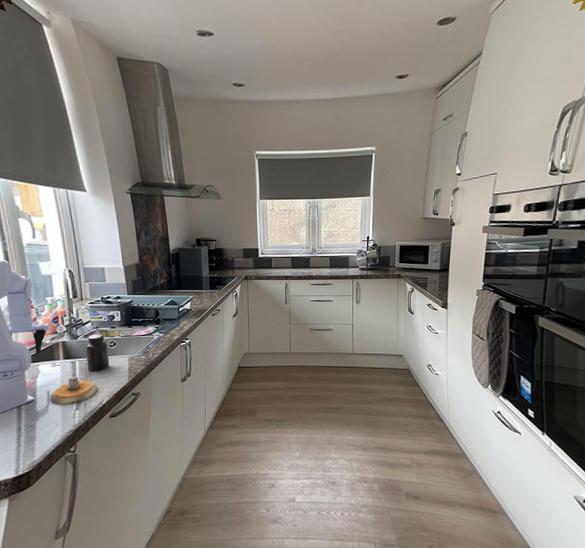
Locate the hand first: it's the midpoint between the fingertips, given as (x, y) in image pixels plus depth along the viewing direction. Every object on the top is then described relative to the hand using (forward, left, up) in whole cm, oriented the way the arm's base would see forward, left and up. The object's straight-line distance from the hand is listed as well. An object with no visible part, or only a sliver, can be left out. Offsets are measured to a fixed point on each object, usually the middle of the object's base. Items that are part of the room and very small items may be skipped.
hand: (24, 353), depth 113 cm
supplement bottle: (+18, -10, -10) cm, 23 cm away
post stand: (+3, -22, -9) cm, 24 cm away
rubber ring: (+3, -22, -8) cm, 24 cm away
